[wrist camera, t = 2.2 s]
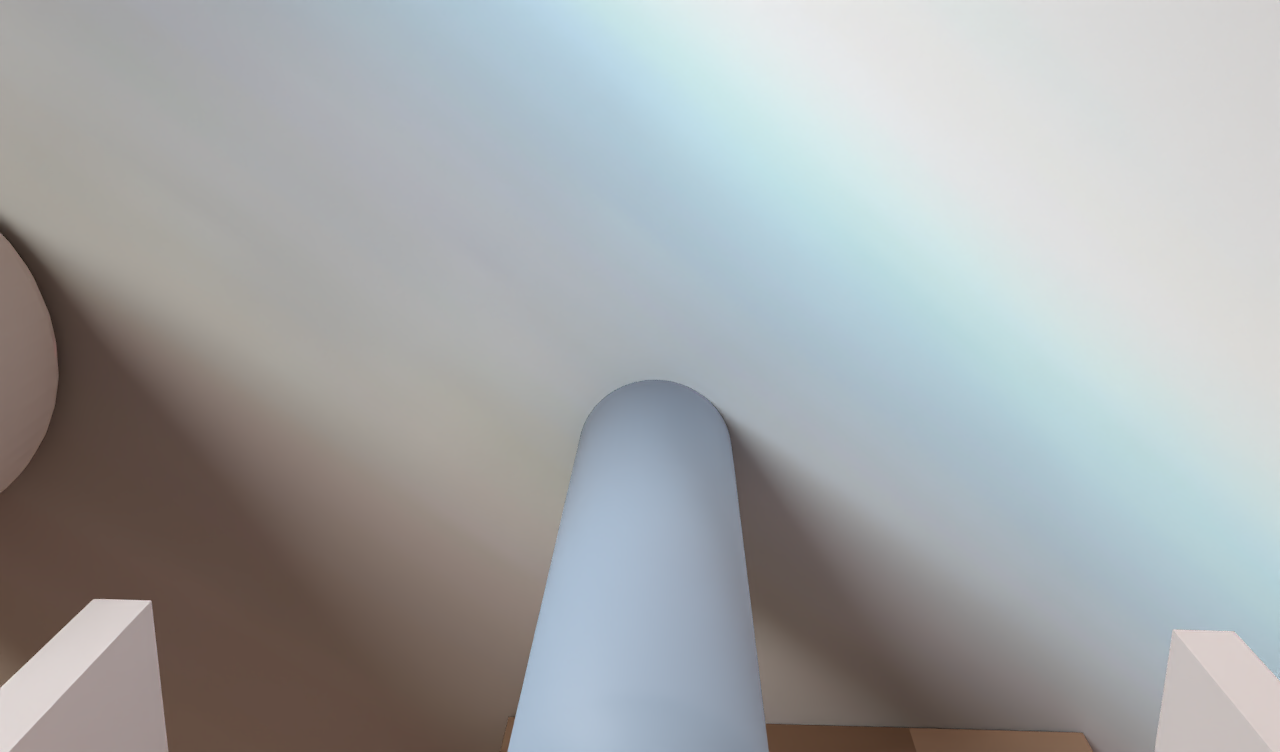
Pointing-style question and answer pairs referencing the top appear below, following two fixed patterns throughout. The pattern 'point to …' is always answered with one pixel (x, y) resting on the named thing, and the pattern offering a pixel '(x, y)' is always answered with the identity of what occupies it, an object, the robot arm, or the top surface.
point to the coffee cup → (23, 365)
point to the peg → (646, 591)
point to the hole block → (904, 739)
